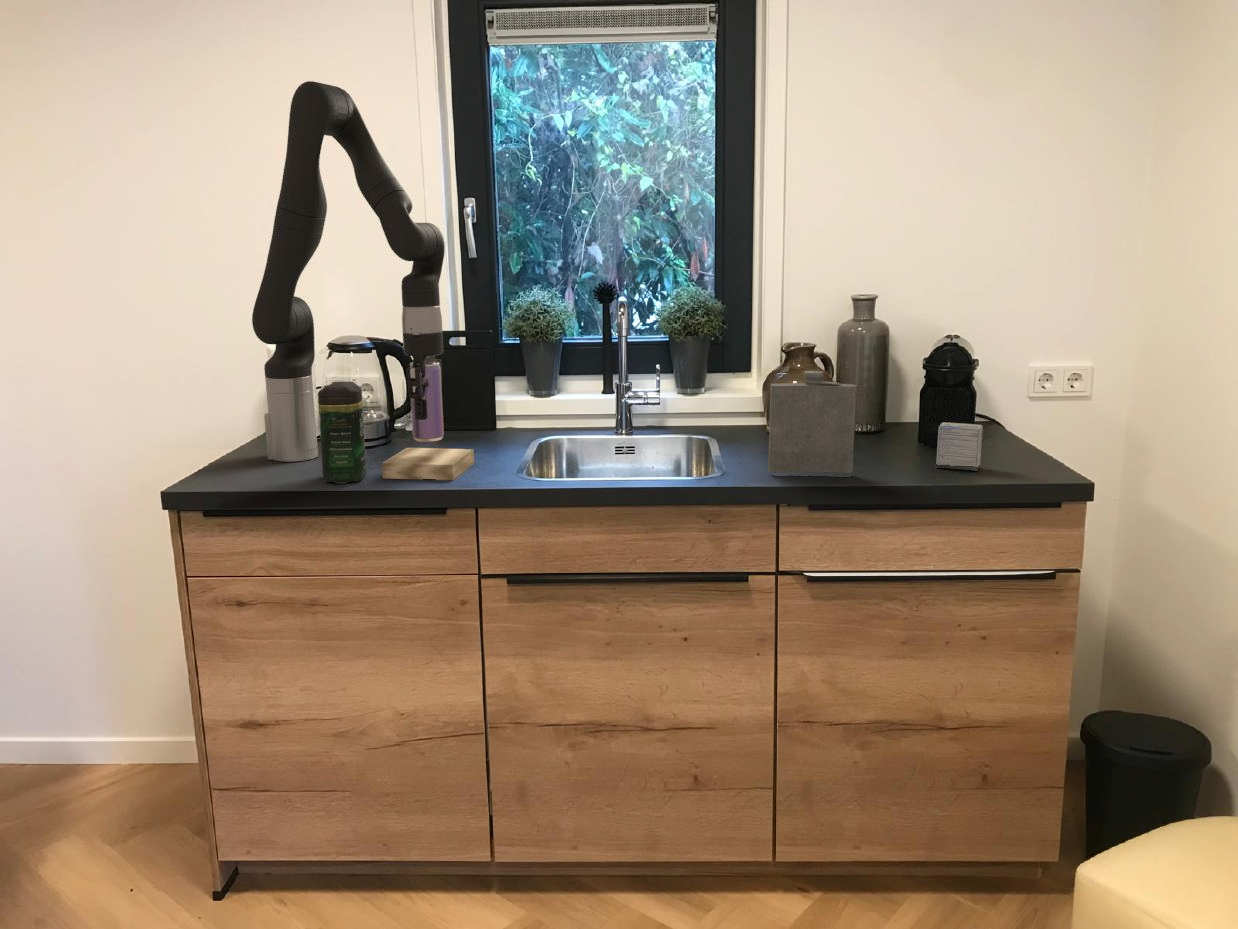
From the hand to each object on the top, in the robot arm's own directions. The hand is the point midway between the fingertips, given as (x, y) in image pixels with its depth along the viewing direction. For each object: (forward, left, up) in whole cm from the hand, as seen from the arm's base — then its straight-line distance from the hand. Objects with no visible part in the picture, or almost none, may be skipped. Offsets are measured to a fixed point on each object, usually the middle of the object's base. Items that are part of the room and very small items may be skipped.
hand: (427, 415), depth 198 cm
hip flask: (+74, +6, -11) cm, 75 cm away
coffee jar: (-14, -8, -11) cm, 20 cm away
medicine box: (+103, +15, -11) cm, 105 cm away
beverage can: (0, 0, -5) cm, 5 cm away
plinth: (0, 0, -11) cm, 11 cm away
